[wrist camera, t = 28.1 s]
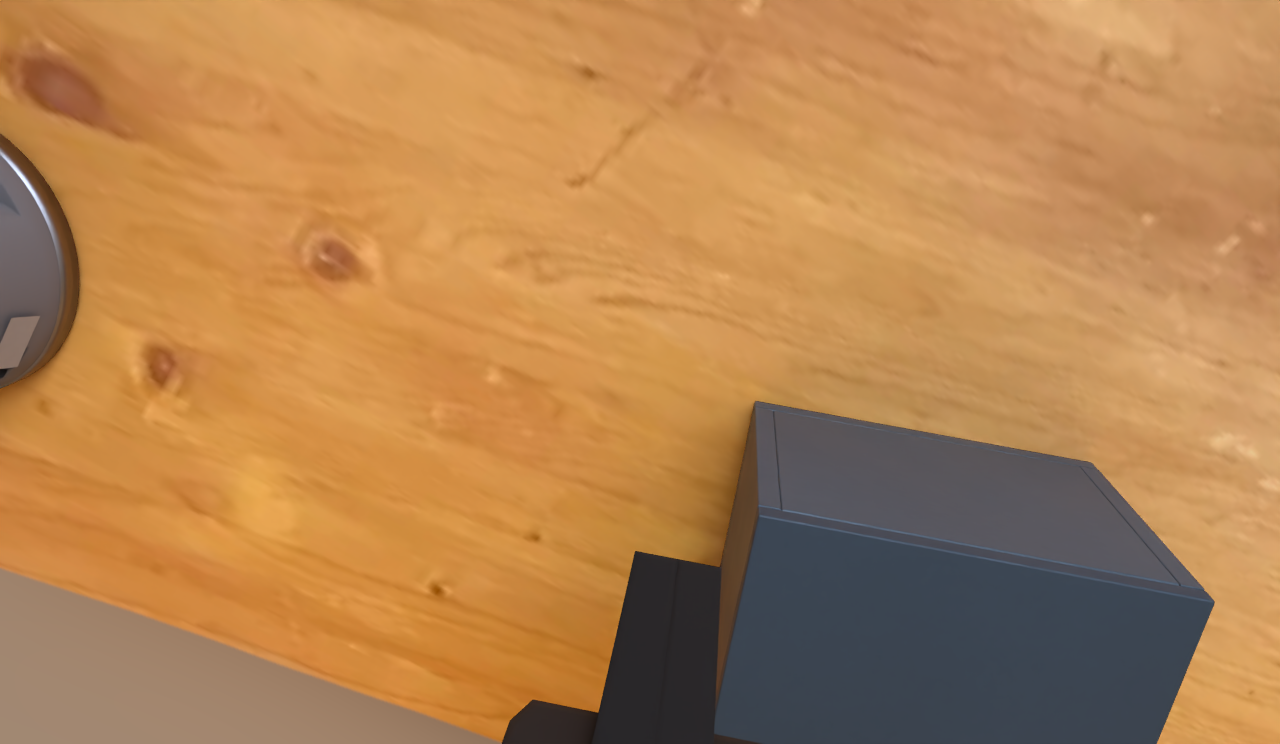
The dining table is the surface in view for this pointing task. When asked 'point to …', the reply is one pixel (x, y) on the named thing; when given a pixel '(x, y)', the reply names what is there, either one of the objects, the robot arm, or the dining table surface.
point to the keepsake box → (934, 497)
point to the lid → (944, 643)
